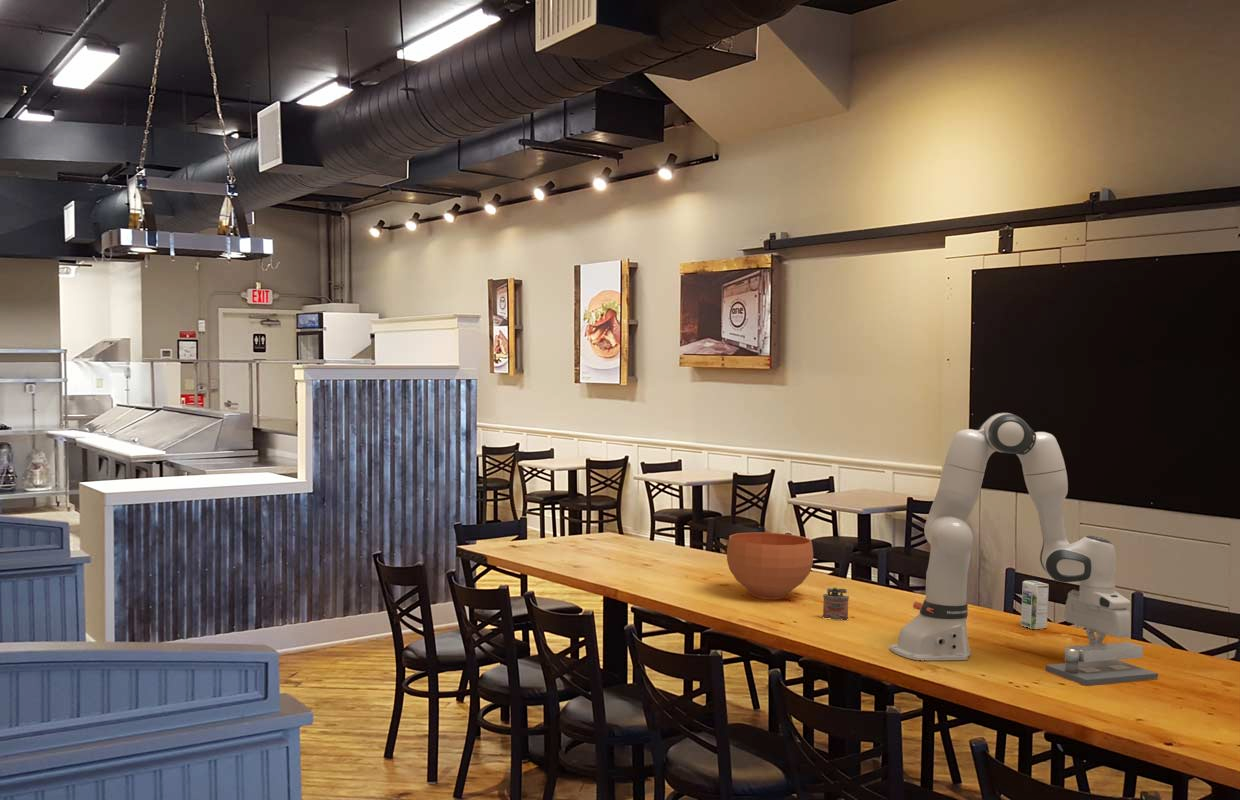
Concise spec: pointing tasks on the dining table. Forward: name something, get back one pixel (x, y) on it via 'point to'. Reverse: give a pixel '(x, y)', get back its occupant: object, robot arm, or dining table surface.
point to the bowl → (769, 562)
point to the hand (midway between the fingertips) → (1095, 646)
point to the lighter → (835, 604)
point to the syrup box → (1034, 604)
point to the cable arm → (1103, 652)
